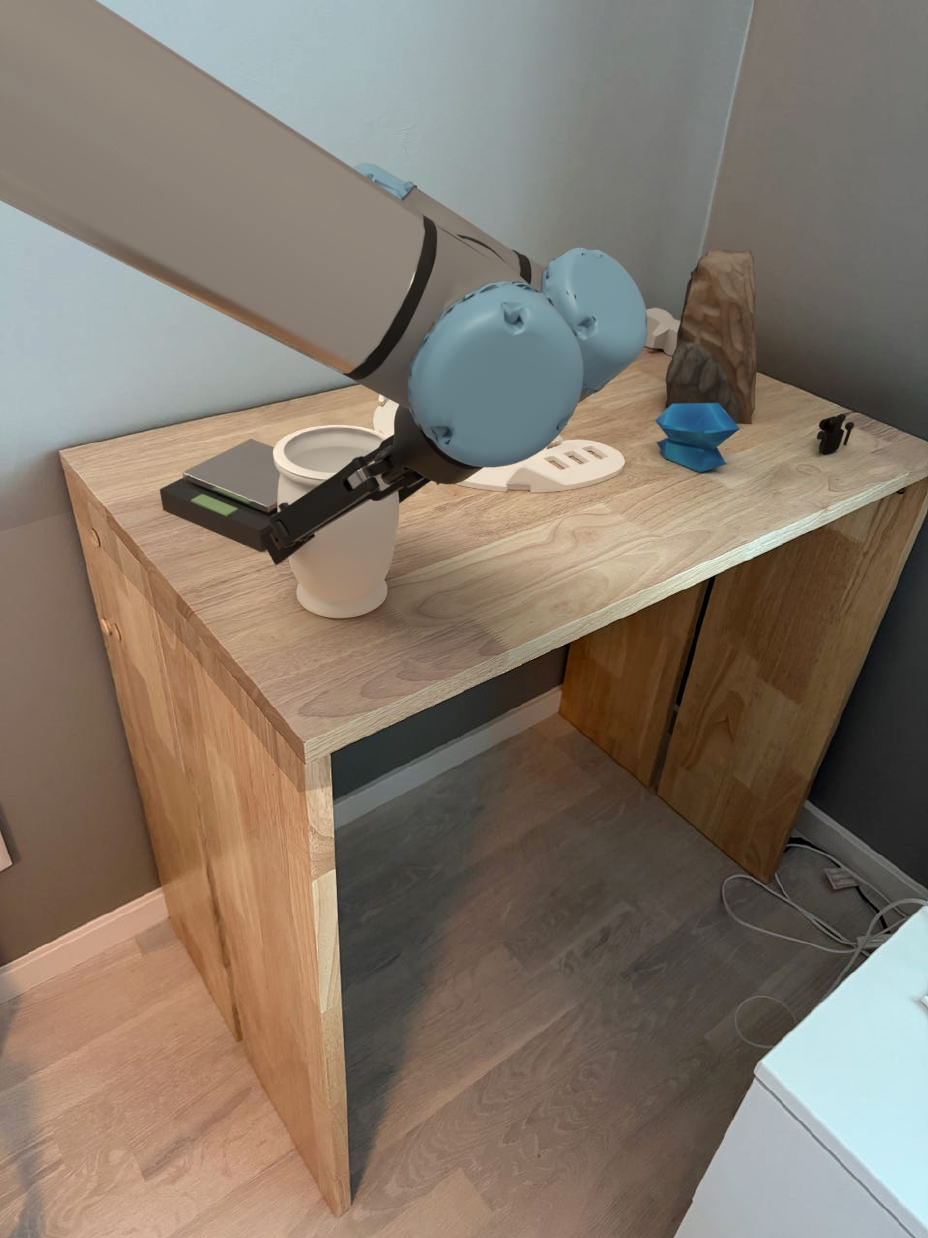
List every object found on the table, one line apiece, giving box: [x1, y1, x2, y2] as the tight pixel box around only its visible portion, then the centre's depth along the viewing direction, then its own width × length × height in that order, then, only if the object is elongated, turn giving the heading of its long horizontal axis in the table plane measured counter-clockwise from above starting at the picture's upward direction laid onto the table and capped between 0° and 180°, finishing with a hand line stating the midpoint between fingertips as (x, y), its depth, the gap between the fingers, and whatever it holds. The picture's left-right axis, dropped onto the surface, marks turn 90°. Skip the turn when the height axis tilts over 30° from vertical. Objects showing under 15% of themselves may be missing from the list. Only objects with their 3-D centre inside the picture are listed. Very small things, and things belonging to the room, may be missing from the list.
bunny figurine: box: [644, 307, 681, 357], centre depth 142 cm, size 10×5×15 cm
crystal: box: [654, 403, 741, 474], centre depth 106 cm, size 7×9×12 cm
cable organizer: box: [372, 394, 626, 494], centre depth 111 cm, size 35×24×3 cm
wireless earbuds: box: [816, 413, 855, 455], centre depth 112 cm, size 7×2×5 cm, turn 123°
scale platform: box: [181, 438, 281, 513], centre depth 94 cm, size 12×10×1 cm
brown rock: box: [664, 248, 758, 425], centre depth 118 cm, size 13×13×20 cm
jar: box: [273, 424, 400, 619], centre depth 78 cm, size 11×10×15 cm
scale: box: [159, 477, 278, 553], centre depth 95 cm, size 14×14×3 cm
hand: (330, 521), depth 79 cm, fingers open, 13 cm apart
